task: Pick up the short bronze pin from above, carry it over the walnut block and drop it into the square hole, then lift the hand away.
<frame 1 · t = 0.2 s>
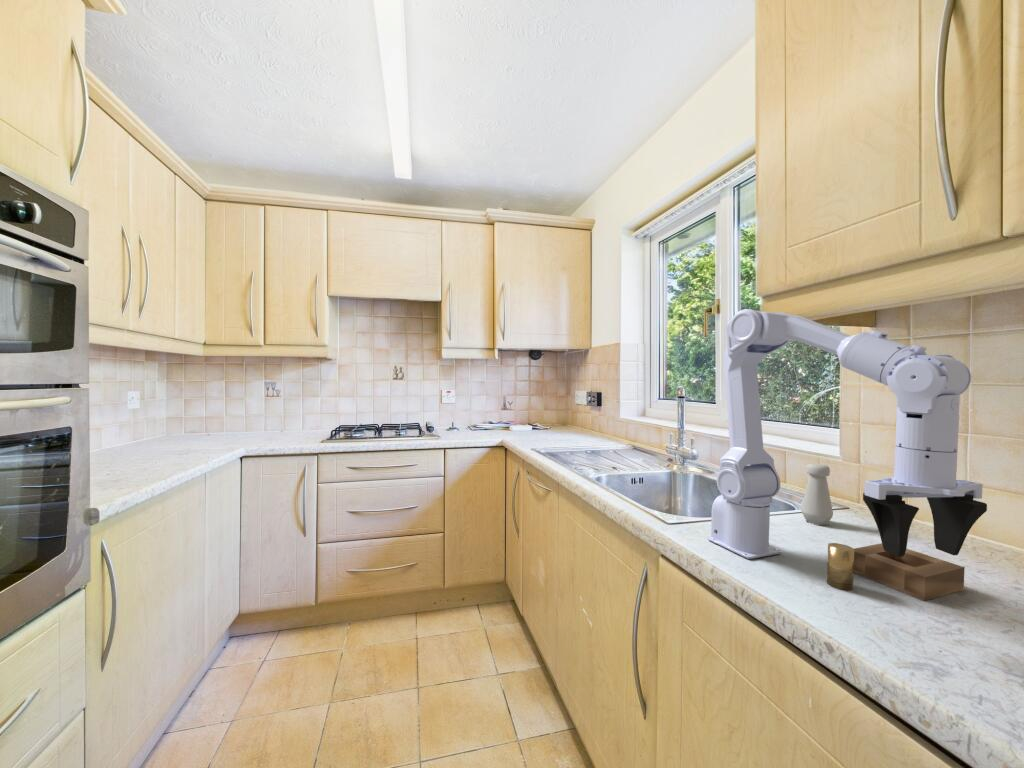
hand: (920, 552, 54), 10 cm above the worktop, tool pointing down, fingers open, 7 cm apart
bronze pin: (839, 585, 65), on the worktop
salt shaker: (816, 523, 93), on the worktop
hole block: (903, 579, 67), on the worktop
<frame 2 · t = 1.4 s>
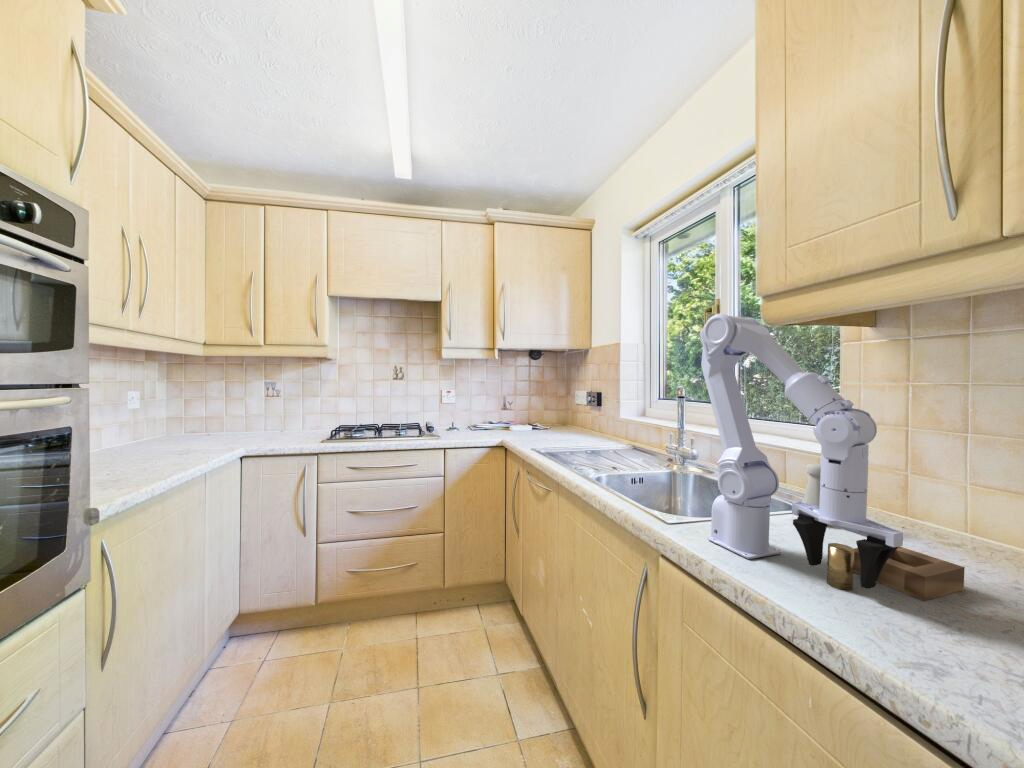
hand: (840, 575, 65), 2 cm above the worktop, tool pointing down, fingers open, 7 cm apart
nothing on the worktop moved.
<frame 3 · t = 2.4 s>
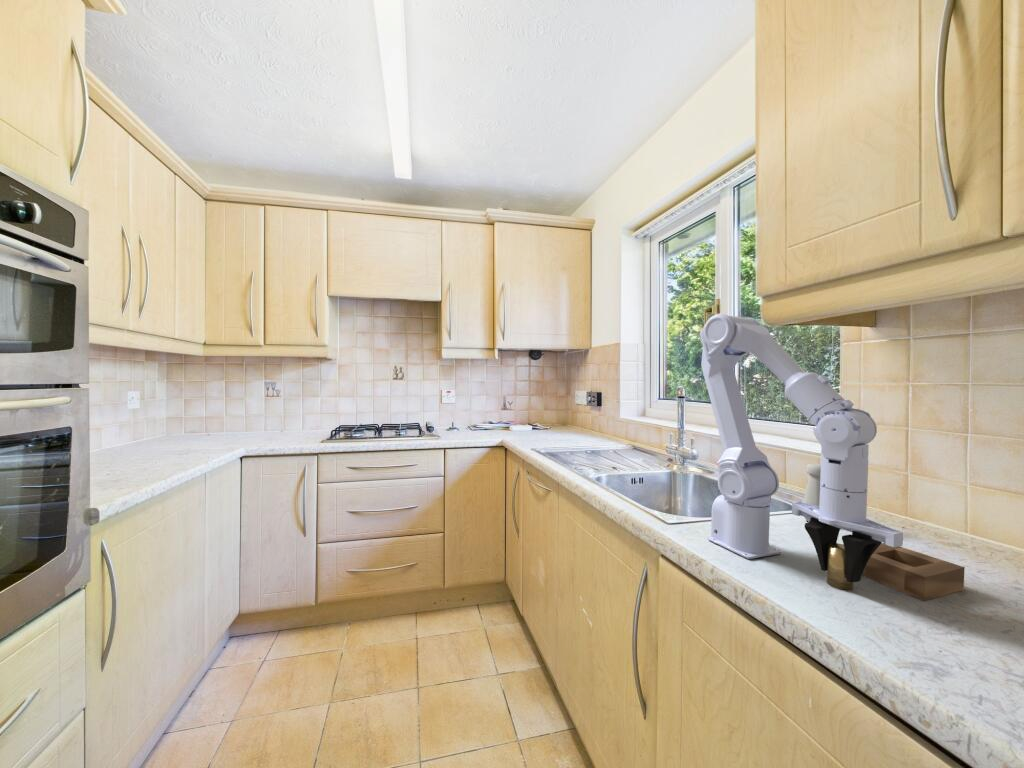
hand: (840, 575, 65), 2 cm above the worktop, tool pointing down, fingers closed on bronze pin, 3 cm apart
bronze pin: (839, 585, 65), on the worktop, touching gripper
everything else where it was.
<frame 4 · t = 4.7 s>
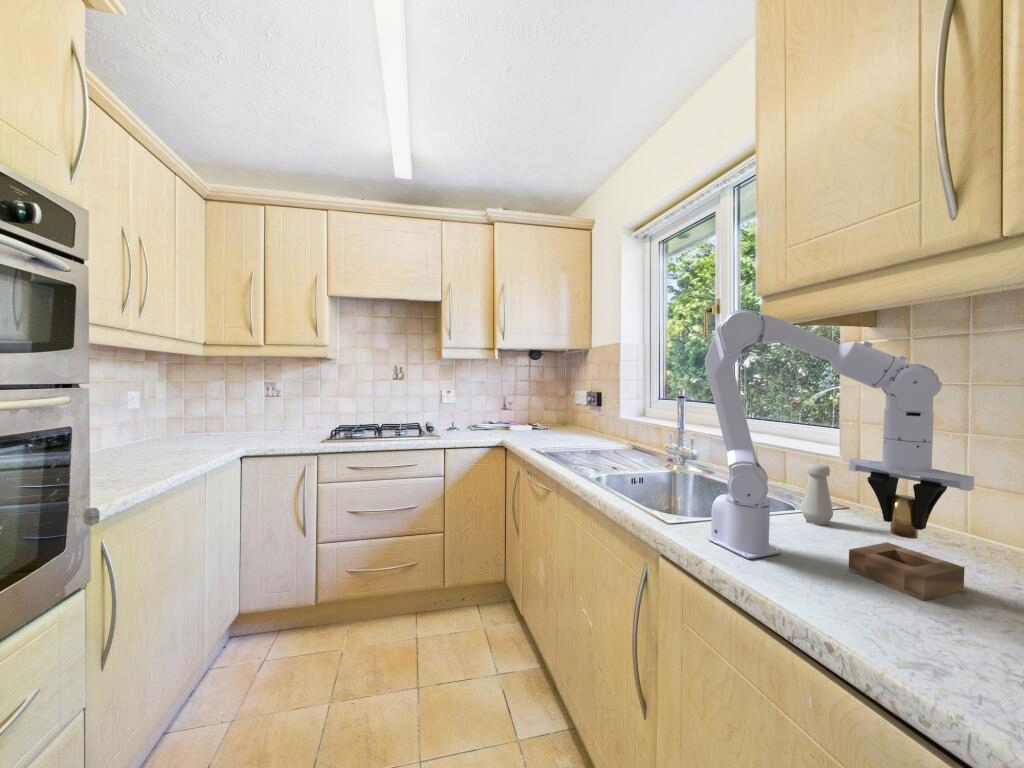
hand: (904, 524, 67), 9 cm above the worktop, tool pointing down, fingers closed on bronze pin, 3 cm apart
bronze pin: (903, 534, 67), point 7 cm above the worktop, touching gripper
everything else where it was.
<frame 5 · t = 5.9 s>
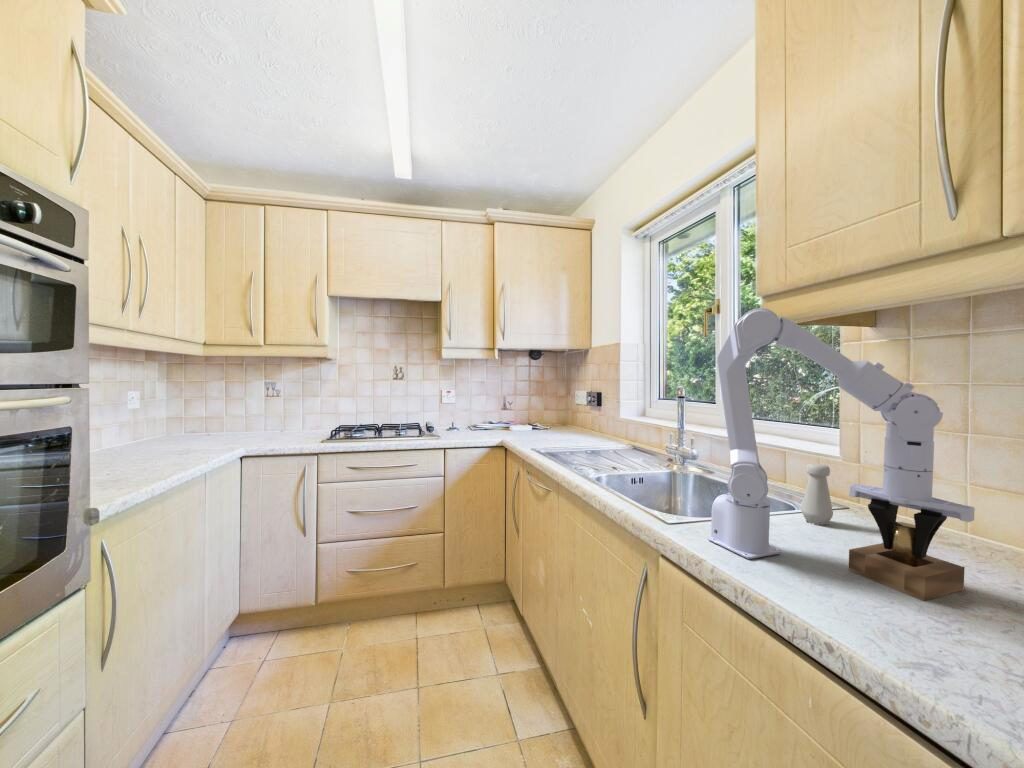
hand: (904, 552, 67), 4 cm above the worktop, tool pointing down, fingers closed on bronze pin, 3 cm apart
bronze pin: (904, 562, 67), point 3 cm above the worktop, touching gripper
everything else where it was.
when the fingers open (4 cm above the worktop, at t = 6.9 s): bronze pin drops 2 cm, resting on hole block.
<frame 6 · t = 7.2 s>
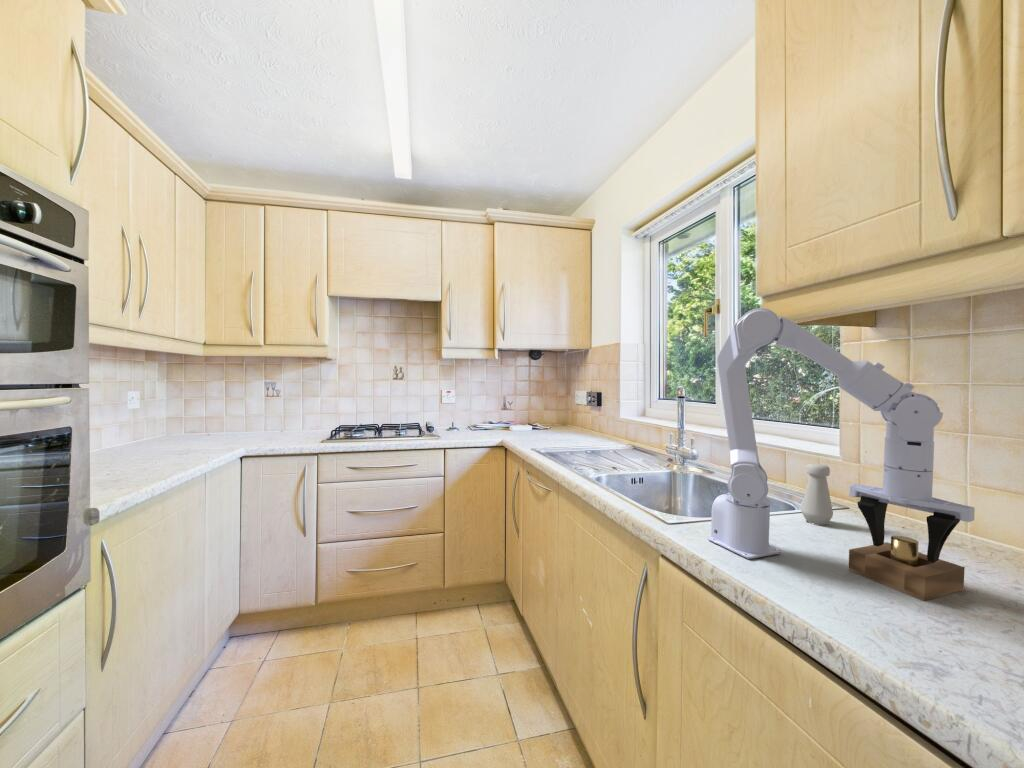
hand: (904, 552, 67), 4 cm above the worktop, tool pointing down, fingers open, 6 cm apart
bronze pin: (903, 576, 67), point 1 cm above the worktop, touching hole block
everything else where it was.
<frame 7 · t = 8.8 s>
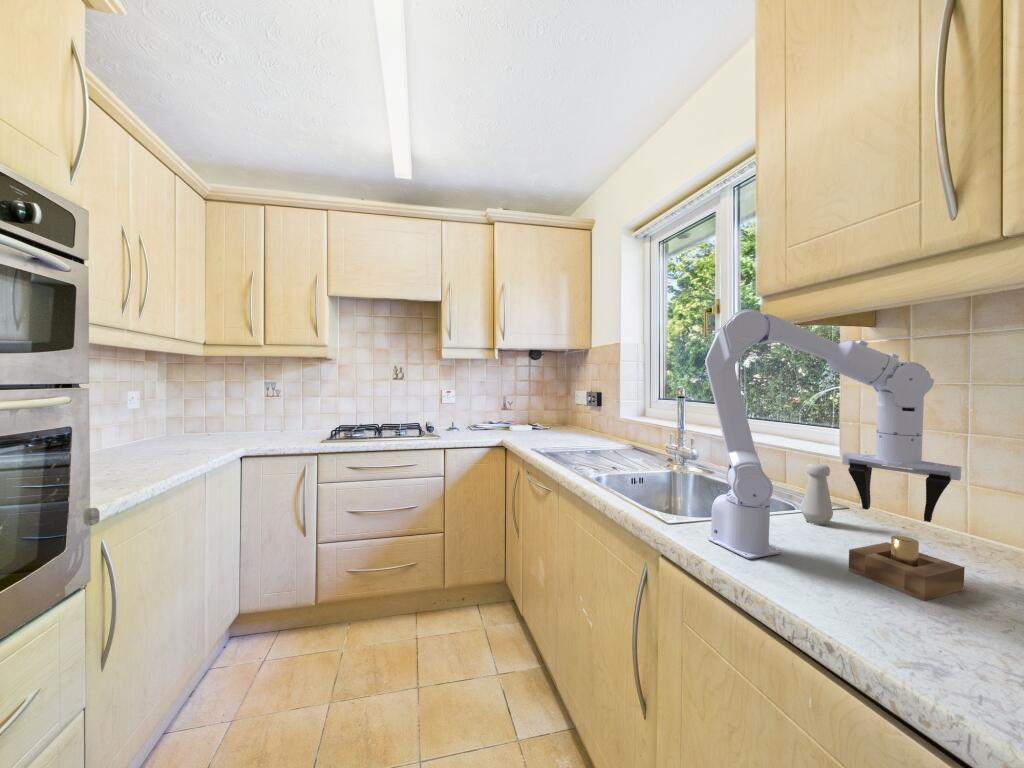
hand: (895, 514, 70), 9 cm above the worktop, tool pointing down, fingers open, 7 cm apart
nothing on the worktop moved.
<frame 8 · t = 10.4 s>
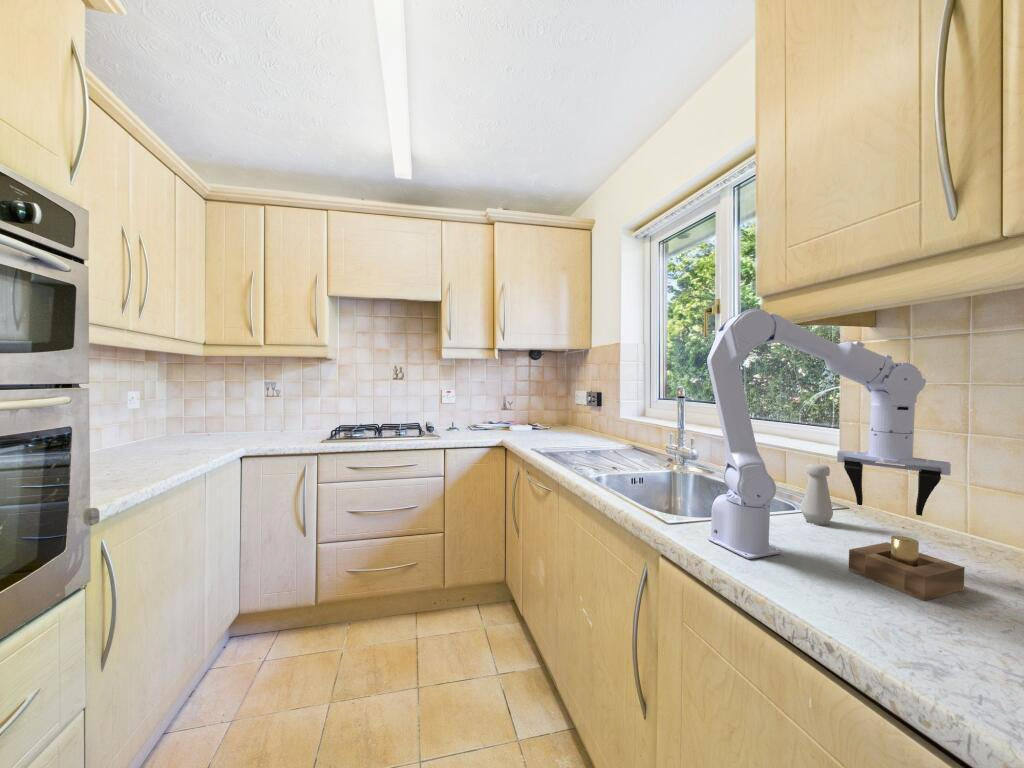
hand: (888, 508, 73), 9 cm above the worktop, tool pointing down, fingers open, 7 cm apart
nothing on the worktop moved.
at the end: bronze pin 0.0 cm off-centre on the hole block, point 0.5 cm above the hole block's base; bronze pin tilted 0°; the gripper is holding nothing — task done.
